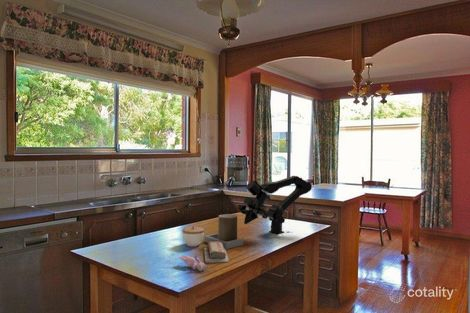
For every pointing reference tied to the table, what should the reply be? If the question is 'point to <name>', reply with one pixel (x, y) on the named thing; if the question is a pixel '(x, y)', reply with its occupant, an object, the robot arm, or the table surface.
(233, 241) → the bay
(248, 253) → the table surface
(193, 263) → the rabbit figure
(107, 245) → the table surface
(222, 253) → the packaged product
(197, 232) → the lidded jar
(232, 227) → the pillar candle
